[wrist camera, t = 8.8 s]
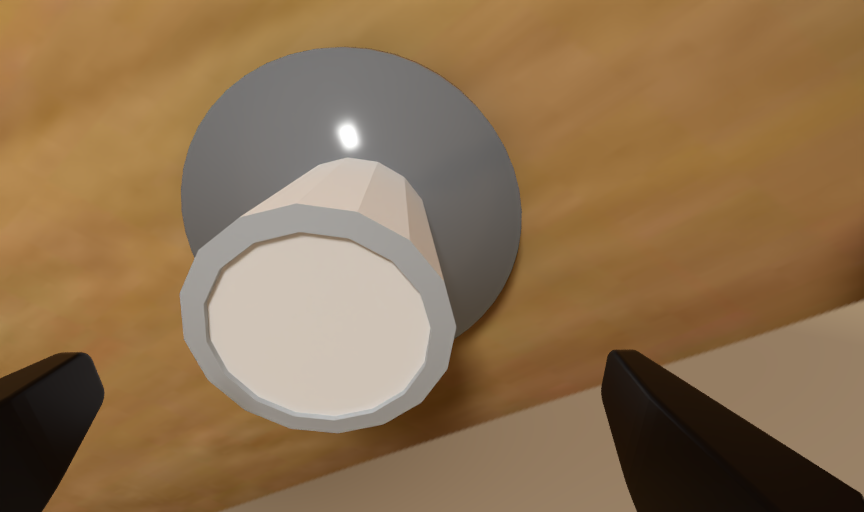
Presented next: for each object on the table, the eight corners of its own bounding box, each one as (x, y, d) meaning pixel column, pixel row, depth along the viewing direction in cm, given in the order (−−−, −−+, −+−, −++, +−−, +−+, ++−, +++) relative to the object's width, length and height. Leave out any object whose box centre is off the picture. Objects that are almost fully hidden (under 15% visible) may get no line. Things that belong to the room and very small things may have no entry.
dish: (531, 47, 16) (538, 48, 15) (503, 348, 22) (508, 364, 21) (159, 45, 16) (139, 46, 15) (229, 349, 22) (218, 365, 20)
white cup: (481, 223, 18) (514, 327, 11) (369, 333, 20) (343, 471, 13) (340, 98, 16) (282, 138, 9) (231, 235, 18) (124, 345, 11)
